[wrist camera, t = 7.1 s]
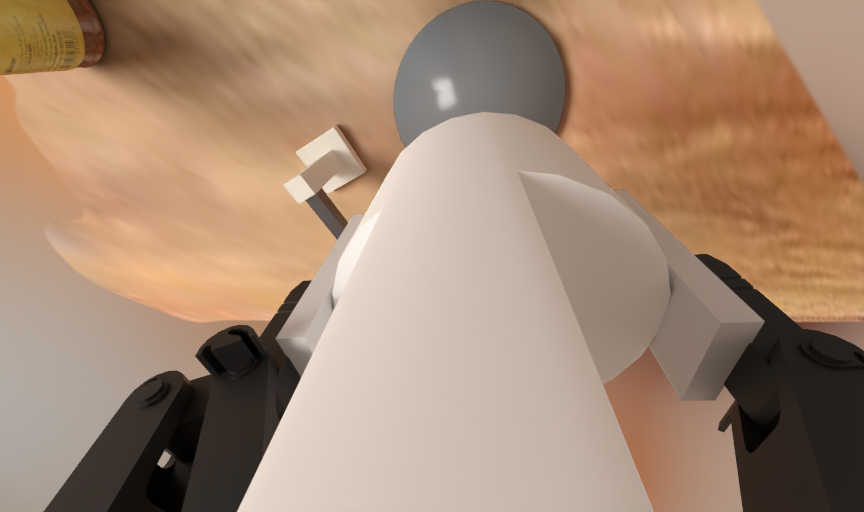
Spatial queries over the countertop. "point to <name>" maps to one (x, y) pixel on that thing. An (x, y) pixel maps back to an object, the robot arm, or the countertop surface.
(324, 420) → the base with upright slab
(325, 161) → the wire posts
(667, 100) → the countertop surface
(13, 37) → the sauce bottle
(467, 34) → the coaster
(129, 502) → the robot arm
